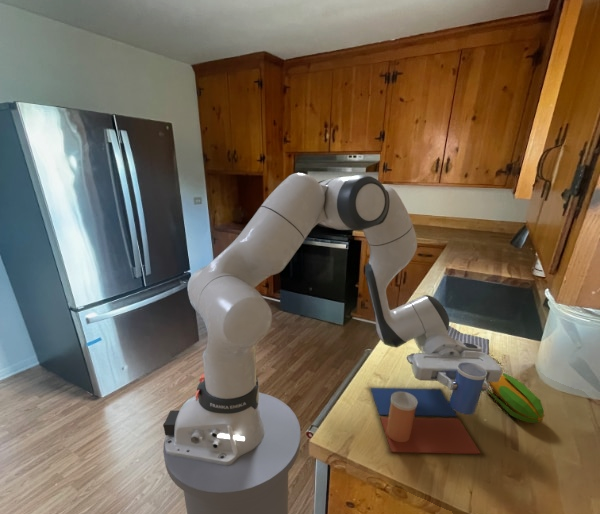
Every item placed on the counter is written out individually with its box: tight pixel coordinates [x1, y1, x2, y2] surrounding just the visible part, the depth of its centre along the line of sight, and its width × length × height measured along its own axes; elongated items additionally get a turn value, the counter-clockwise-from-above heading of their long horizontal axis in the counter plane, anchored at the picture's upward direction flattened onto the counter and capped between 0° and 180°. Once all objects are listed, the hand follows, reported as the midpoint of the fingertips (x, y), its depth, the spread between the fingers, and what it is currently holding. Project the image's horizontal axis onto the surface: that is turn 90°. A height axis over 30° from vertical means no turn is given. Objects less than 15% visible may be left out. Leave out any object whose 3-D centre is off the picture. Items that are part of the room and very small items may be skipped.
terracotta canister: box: [386, 391, 418, 442], centre depth 76 cm, size 6×6×10 cm
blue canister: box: [448, 362, 487, 416], centre depth 73 cm, size 6×6×10 cm
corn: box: [487, 372, 545, 424], centre depth 88 cm, size 7×8×20 cm
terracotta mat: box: [380, 416, 482, 455], centre depth 78 cm, size 20×11×1 cm, turn 90°
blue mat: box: [370, 387, 458, 418], centre depth 89 cm, size 20×11×1 cm, turn 90°
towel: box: [447, 325, 490, 356], centre depth 110 cm, size 15×18×8 cm
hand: (469, 388), depth 72 cm, fingers closed on blue canister, 5 cm apart
